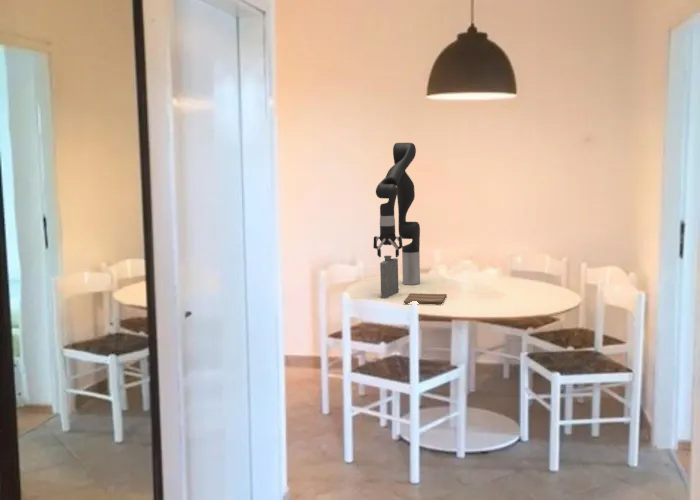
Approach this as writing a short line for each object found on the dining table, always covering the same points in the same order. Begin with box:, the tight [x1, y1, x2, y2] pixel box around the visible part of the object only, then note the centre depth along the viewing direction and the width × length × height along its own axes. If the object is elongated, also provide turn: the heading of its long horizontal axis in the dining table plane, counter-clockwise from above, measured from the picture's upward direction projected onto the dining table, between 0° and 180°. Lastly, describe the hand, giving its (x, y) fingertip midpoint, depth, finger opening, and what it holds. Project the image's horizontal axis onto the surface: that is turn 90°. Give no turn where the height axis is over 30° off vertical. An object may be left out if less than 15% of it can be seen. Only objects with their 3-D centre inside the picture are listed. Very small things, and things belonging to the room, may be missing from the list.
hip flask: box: [379, 255, 400, 299], centre depth 398 cm, size 16×4×20 cm, turn 151°
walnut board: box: [403, 293, 448, 305], centre depth 384 cm, size 18×18×2 cm
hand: (388, 257), depth 396 cm, fingers open, 8 cm apart
